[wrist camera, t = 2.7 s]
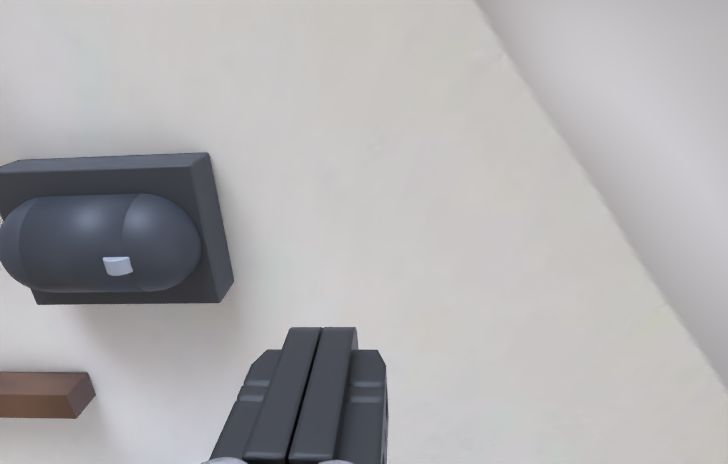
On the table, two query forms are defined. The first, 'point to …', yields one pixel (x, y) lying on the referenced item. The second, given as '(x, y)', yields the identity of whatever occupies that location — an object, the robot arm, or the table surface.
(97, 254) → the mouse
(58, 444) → the table surface
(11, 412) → the mouse bay
